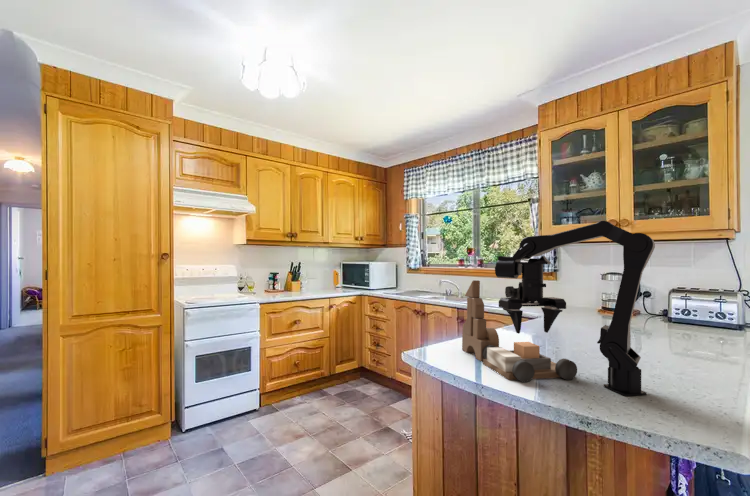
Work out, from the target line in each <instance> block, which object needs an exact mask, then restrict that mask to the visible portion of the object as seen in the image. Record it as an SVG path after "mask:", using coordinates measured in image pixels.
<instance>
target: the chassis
mask: <svg viewBox="0 0 750 496" xmlns="http://www.w3.org/2000/svg"><path fill="white" fill-rule="evenodd" d="M482 355H483V358H484V359H483V361H482V365H484V364H485V365H484V366H486V367H487V366H488V367H487V368H489V367H490V368H491V370H492V369H493V370H492V371H494V370H495V371H496V372H495V371H494V372H495V373H497V372H498V373H499V374H498V373H497V374H498V375H500V374H501V375H500V376H501V377H503V376H504V377H503V378H504V379H506V378H507V379H506V380H508V381H514V380H515V381H517V380H518V381H520V382H522V383H528V382H530V381H531V380H532V379H533V380H535V379H553V378H561V379H564V380H566V381H571V380H573V379H575V377H576V376H577V373H578V366H577V364H576V363H575V362H574V361H572V360H570V359H567V358H561V359H559V360H557V362H554V361H552V358H550V357H548V356H546V355H543V354H541V353H540V356H539V358H528V359H522V358H521V357H520V356H518V355H516V354H514V349H513V350H509V349H506V348H503V347H501V346H499V347H495V346H493V345H487V346H485V347H484V349H483V352H482ZM490 368H489V369H490Z"/></svg>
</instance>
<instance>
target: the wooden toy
mask: <svg viewBox="0 0 750 496" xmlns="http://www.w3.org/2000/svg"><path fill="white" fill-rule="evenodd" d="M480 288H481V281H480V280H472V281H471V283H470V285H469V286H468V289H467V291H466V292H465V294H464V296H465V297H466V300H467V301H466V319H465V322H464V323H462V333H461V334H462V335H461V339H462V341H461V342H462V343H461V350H462V351H463V352H465V353H468V354H469V353H470V352H471V353H474V354H475V359H476V360H477V361H479V360H480V361H479V362H481V361H482V362H483V359H484V358H483V355H482V352H483V349H484V347H485V346H487V345H493V346H495V347H500V338H499V333H498V332H497V330H496V328H495V327H487V318H485V304H484V303H485V302H484V301H483V299H482V298H481V295H480V294H481V290H480ZM471 353H470V354H471Z"/></svg>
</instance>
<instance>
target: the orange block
mask: <svg viewBox="0 0 750 496" xmlns="http://www.w3.org/2000/svg"><path fill="white" fill-rule="evenodd" d="M513 350H514V354H516V355H518V356H520V357H521V358H522V359H528V358H539V356H540V354H541V351H540V345H538V344H535V343H533V342H531V341H515V342H514V341H513Z"/></svg>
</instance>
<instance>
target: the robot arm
mask: <svg viewBox="0 0 750 496" xmlns="http://www.w3.org/2000/svg"><path fill="white" fill-rule="evenodd" d="M603 237H604V238H606V239H608V240H609V241H612V242H614V243H616V244H618V245H620V246H622V247H623V253H622V255H623V256H622V257H623V259H622V260H623V271H622V275H621V280H620V285H619V288H618V292H617V295H616V296H617V297H616V301H615V305H614V310H613V313H612V319H611V322H610V323H609V325H607V324H605V325H603V326H601V327H600V336H599V339H598V341H596V344H599V351H600V353H601V354H602V356H603V357H605V358H606V359H607V361H608V367H607V383H604V384H603V387H604V388H606V389H608V390H610V391H612V392H615V393H618V394H620V395H622V396H625V397H628V396H629V397H632V396H644V395H645V396H646V395H648V394H647V393H648V392H647V391H644V390H642V369H641V368H640V367H639V366H638V364H639V362H640V360H641V356H640V355H639V354H638V352H636V351H635V349H633V348H632V347H631V322H632V317H633V314H634V313H633V312H634V309H635V306H636V301H637V297H638V296H637V295H638V292H639V288H640V284H641V280H642V275H643V272H644V270H645V268H646V266H647V265H648V263H649V261H650V259H651V257H652V254H653V252H654V250H655V247H656V243H655V241H654V239H653V238H652V237H651V236H649V235H647V234H646V233H643V232H635V233H632V232H630V231H628V230H625V229H623V228H620V227H618V226H617V225H614V224H613V223H611V222H610V221H608V220H599V221H598V222H596V223H591V224H587V225H584V226H581V227H577V228H573V229H569V230H566V231H560V232H558V233H554V234H545V235H543V234H542V235H534V236H533V235H531V236H526V237H524V238H522V239H521V241H520V242H519V246H518V249H517V250H516V251H515V253H514V254H513V255H512V256H504V255H502V256H501V255H499V256H498V257H497V261H496V264H495V266H494V274H495V276H496V278H499V279H500V278H501V279H518V278H519V276H521V282H520V281H519V282H518V287H514V286H513V285H512V286H511V285H510V286H505V289H504V294H505V297H500V299H499V300H498V307H499V308H501V309H502V310H503V311H506V312H507V314H508V315H509V316H510V319H511V322H512V324H513V328H514V329H515V333H516V334H520V333H521V330H522V329H521V328H522V320H523V313H524V312H523V310H520V309H521V308H522V307H540V308H541V311H542V313H543V331H544V333H545V334H546V333H549V331H550V330H551V328H552V325H553V324H554V322H555V320H556V319H557V317H558V316H559V314H560V313H562V312H563V310H564V309H565V310H566V309H567V302H566V300H565V298H559V297H553V296H552V297H546V296H545V297H544V288H547V283H545V282H544V265H551V264H552V261H550V260H549V259H548V258H547V257H546V256H545V254H547V253H549V252H551V251H554V250H555V249H558V248H560V247H561V248H562V247H565V246H570V245H573V244H578V243H581V242H586V241H590V240H594V239H599V238H603ZM540 256H541V257H540ZM532 257H539V258H532ZM522 260H528V261H522Z"/></svg>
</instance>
